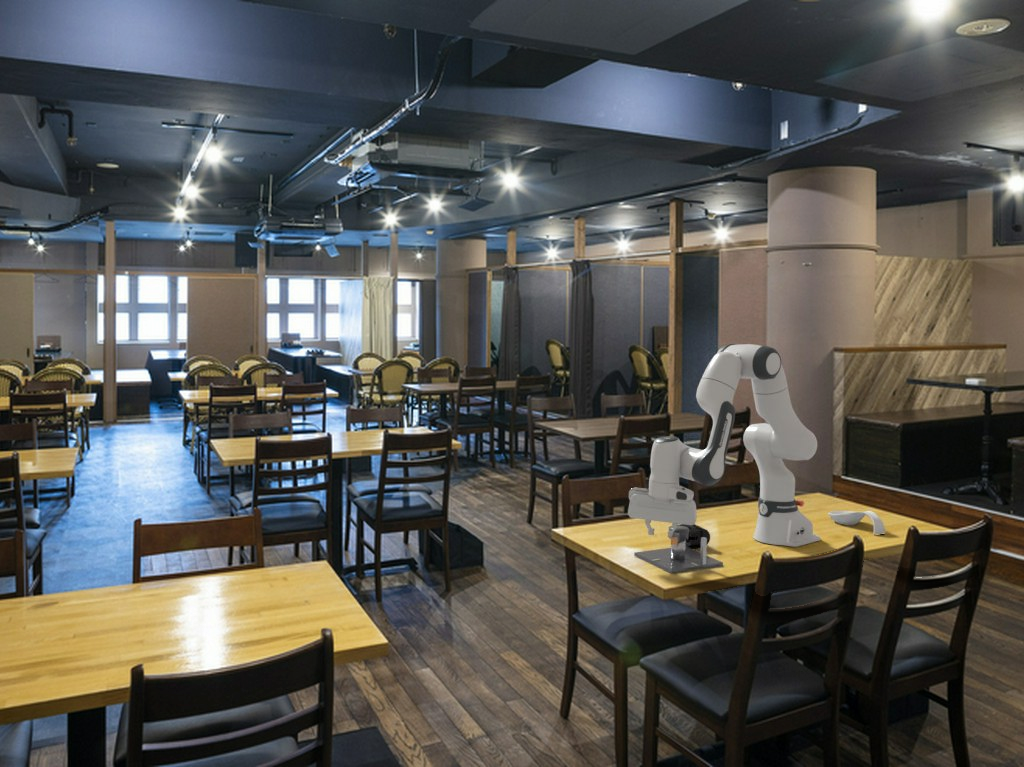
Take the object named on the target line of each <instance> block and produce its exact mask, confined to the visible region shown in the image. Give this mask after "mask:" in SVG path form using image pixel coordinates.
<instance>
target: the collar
mask: <svg viewBox="0 0 1024 767" xmlns="http://www.w3.org/2000/svg"><path fill="white" fill-rule="evenodd" d="M673 528H674V527H672V525H670V526H669V527H668V531H672V529H673ZM688 538H689V528H688V527H685V526H677V528H676V529H675V531H674V534H673V535H672V537H671V538H669V540H670V545H671V544H672V545H677V544H678V542H679V540H687V539H688Z"/></svg>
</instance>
